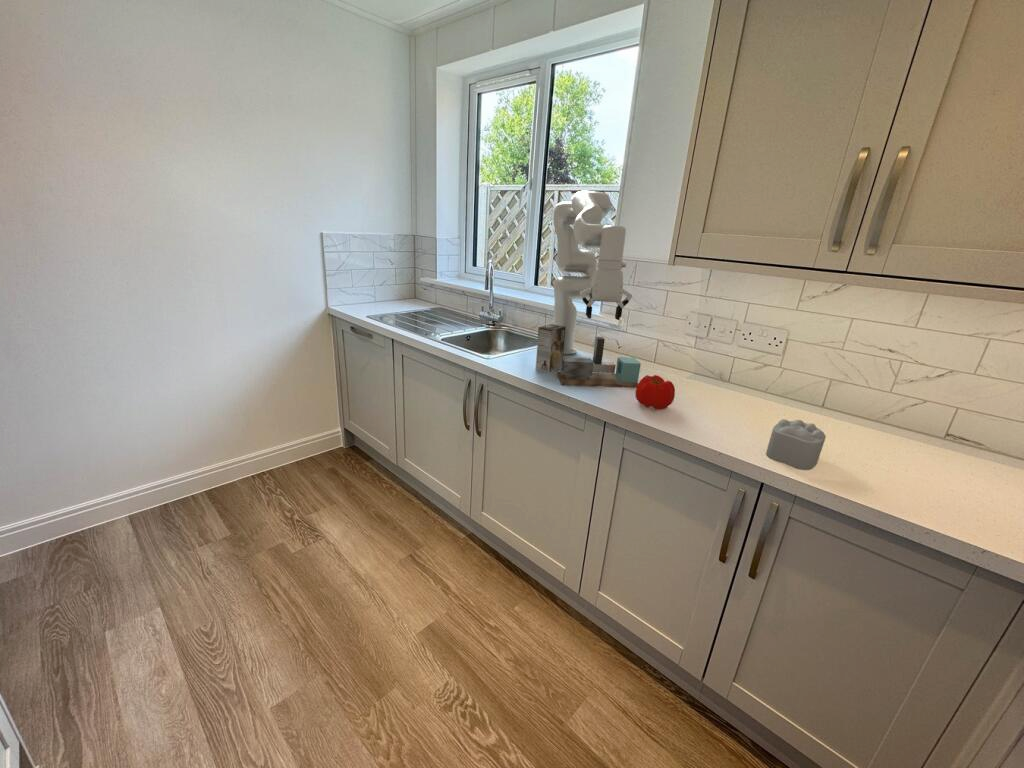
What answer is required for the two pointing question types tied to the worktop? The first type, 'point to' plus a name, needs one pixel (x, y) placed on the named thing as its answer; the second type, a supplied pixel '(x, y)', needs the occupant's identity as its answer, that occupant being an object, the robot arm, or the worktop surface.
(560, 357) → the coffee box
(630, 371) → the socket block
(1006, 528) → the worktop surface
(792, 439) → the lumpy-topped squat cylinder
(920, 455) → the worktop surface
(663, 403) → the tomato
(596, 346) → the grey l-shaped piece
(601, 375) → the sleeve base
